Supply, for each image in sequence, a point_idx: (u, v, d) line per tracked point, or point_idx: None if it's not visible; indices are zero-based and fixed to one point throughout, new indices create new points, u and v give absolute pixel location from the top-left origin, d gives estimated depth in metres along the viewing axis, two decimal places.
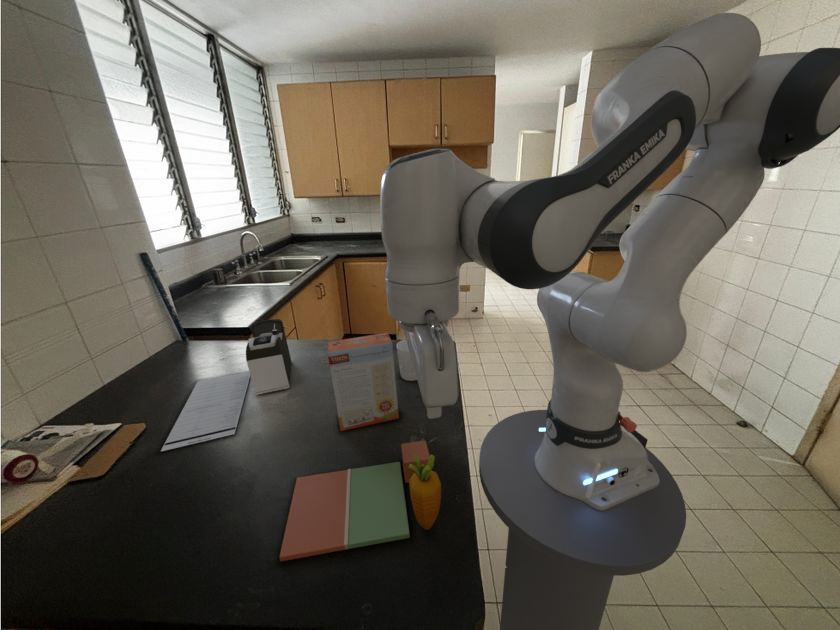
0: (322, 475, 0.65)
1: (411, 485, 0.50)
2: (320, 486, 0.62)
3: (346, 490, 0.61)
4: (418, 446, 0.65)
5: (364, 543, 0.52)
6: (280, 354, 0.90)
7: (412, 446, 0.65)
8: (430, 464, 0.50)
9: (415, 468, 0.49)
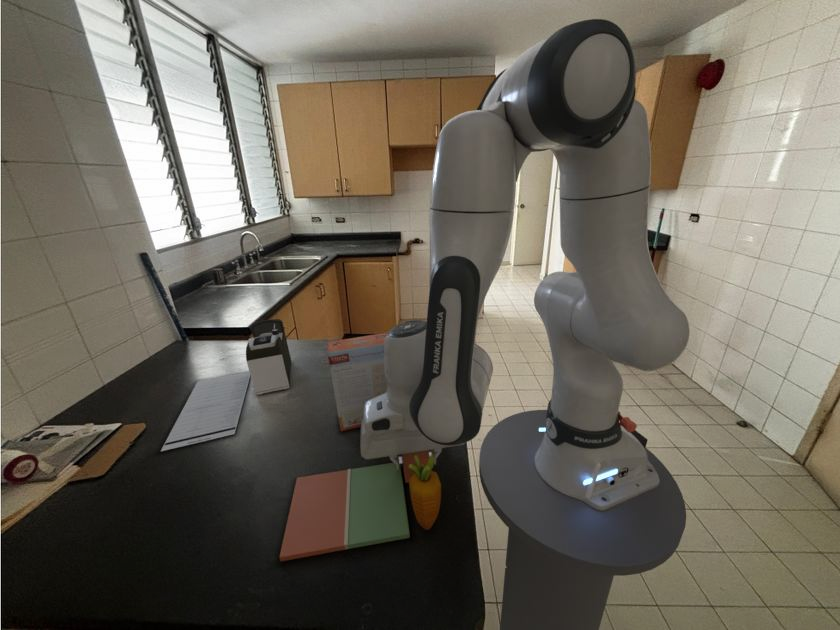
0: (322, 475, 0.65)
1: (411, 485, 0.50)
2: (320, 486, 0.62)
3: (346, 490, 0.61)
4: None
5: (364, 543, 0.52)
6: (280, 354, 0.90)
7: None
8: (430, 464, 0.50)
9: (415, 468, 0.49)
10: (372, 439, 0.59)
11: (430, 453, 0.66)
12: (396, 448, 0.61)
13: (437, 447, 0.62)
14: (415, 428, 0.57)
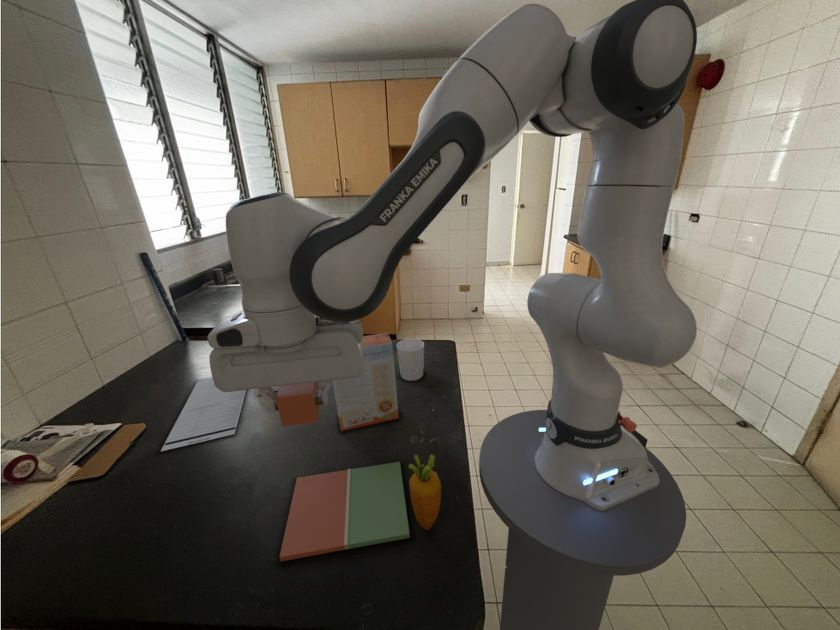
0: (322, 475, 0.65)
1: (411, 485, 0.50)
2: (320, 486, 0.62)
3: (346, 490, 0.61)
4: None
5: (364, 543, 0.52)
6: None
7: None
8: (430, 464, 0.50)
9: (415, 468, 0.49)
10: (227, 362, 0.44)
11: (320, 391, 0.51)
12: (263, 377, 0.46)
13: (321, 378, 0.47)
14: (276, 343, 0.42)
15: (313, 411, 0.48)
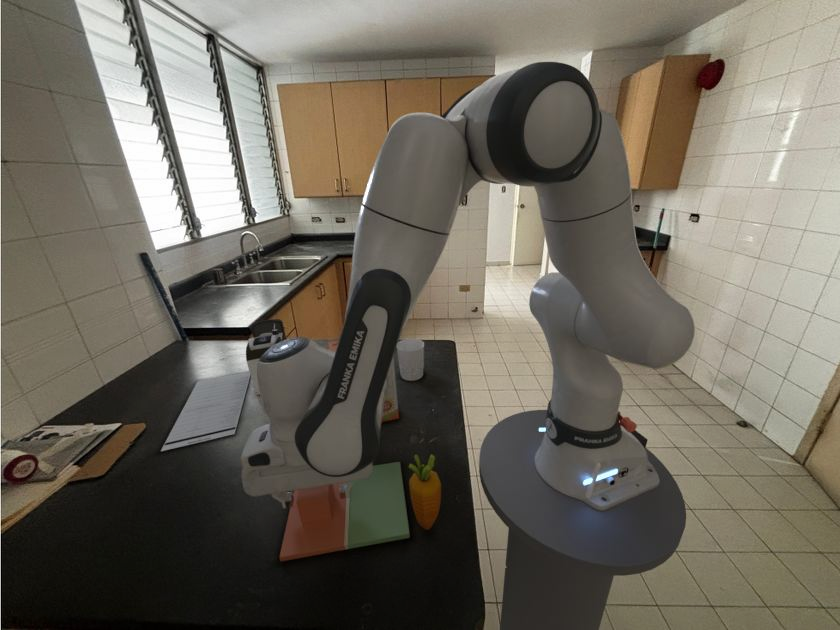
0: None
1: (411, 485, 0.50)
2: None
3: None
4: None
5: (364, 543, 0.52)
6: None
7: None
8: (430, 464, 0.50)
9: (415, 468, 0.49)
10: (256, 474, 0.51)
11: (343, 485, 0.58)
12: (286, 484, 0.53)
13: (336, 482, 0.55)
14: (299, 464, 0.49)
15: (328, 510, 0.55)
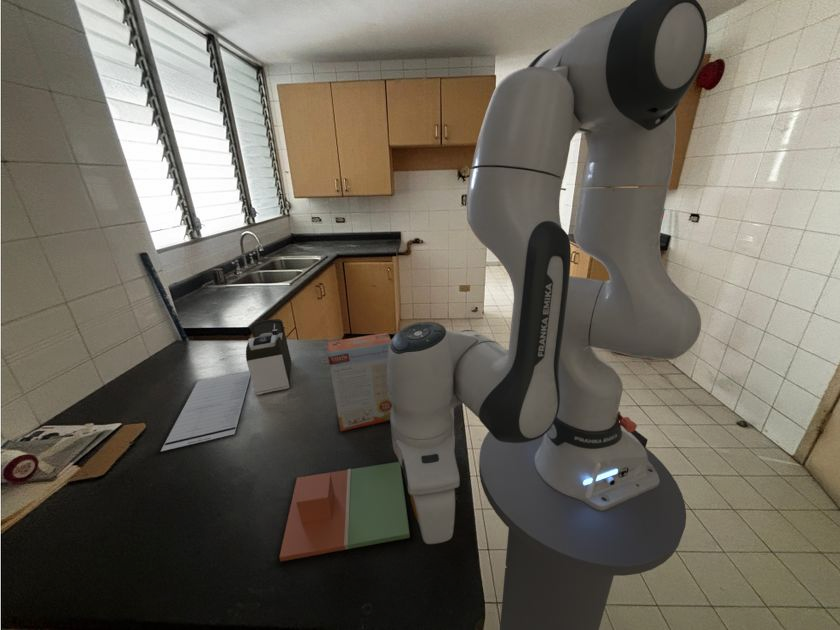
0: None
1: None
2: None
3: (346, 490, 0.61)
4: (320, 481, 0.57)
5: (364, 543, 0.52)
6: (280, 354, 0.90)
7: (313, 480, 0.57)
8: None
9: None
10: None
11: None
12: None
13: None
14: None
15: (328, 510, 0.55)
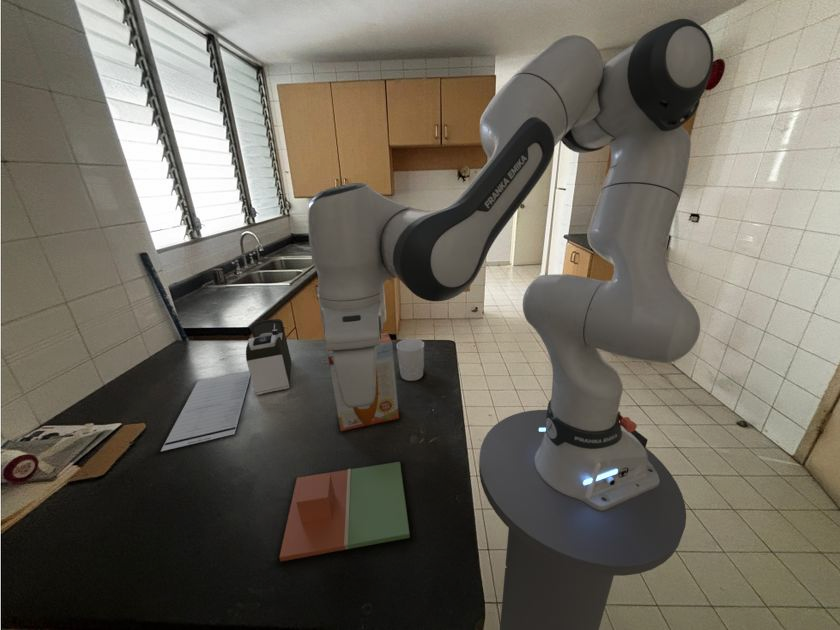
0: None
1: None
2: None
3: (346, 490, 0.61)
4: (320, 481, 0.57)
5: (364, 543, 0.52)
6: (280, 354, 0.90)
7: (313, 480, 0.57)
8: None
9: None
10: None
11: None
12: None
13: None
14: None
15: (328, 510, 0.55)
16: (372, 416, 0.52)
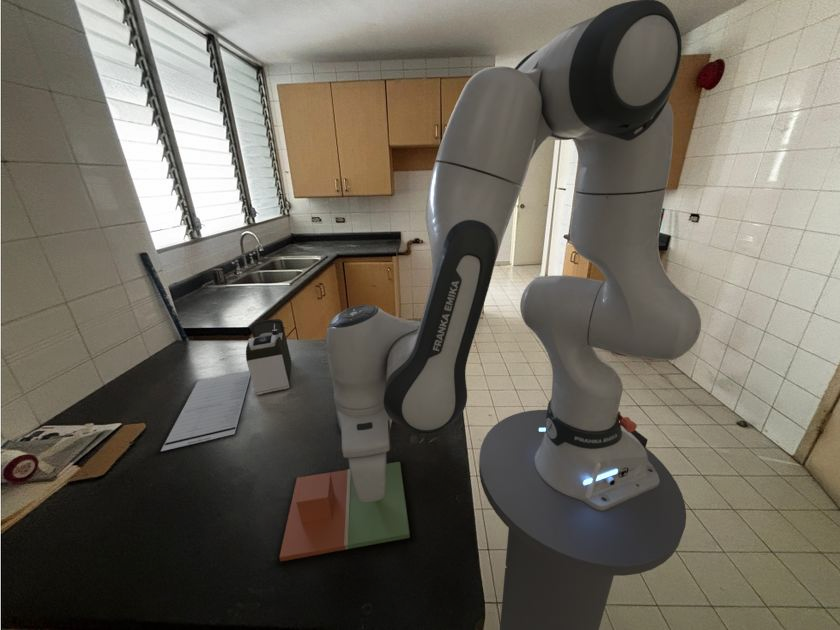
0: None
1: None
2: None
3: (346, 490, 0.61)
4: (320, 481, 0.57)
5: (364, 543, 0.52)
6: (280, 354, 0.90)
7: (313, 480, 0.57)
8: None
9: None
10: None
11: None
12: None
13: None
14: None
15: (328, 510, 0.55)
16: None
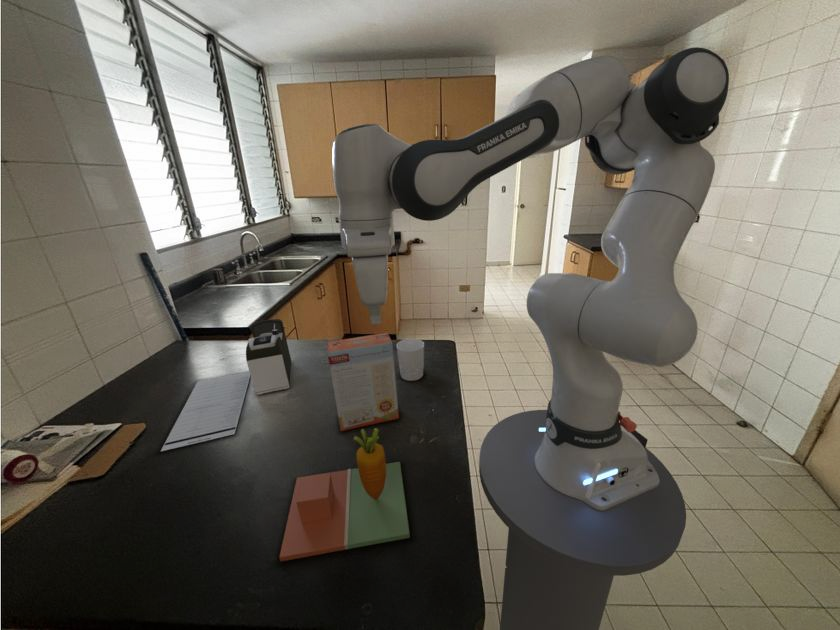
0: None
1: (357, 456, 0.55)
2: None
3: (346, 490, 0.61)
4: (320, 481, 0.57)
5: (364, 543, 0.52)
6: (280, 354, 0.90)
7: (313, 480, 0.57)
8: (374, 436, 0.54)
9: (360, 440, 0.54)
10: None
11: None
12: None
13: None
14: (394, 241, 0.57)
15: (328, 510, 0.55)
16: (380, 492, 0.58)
